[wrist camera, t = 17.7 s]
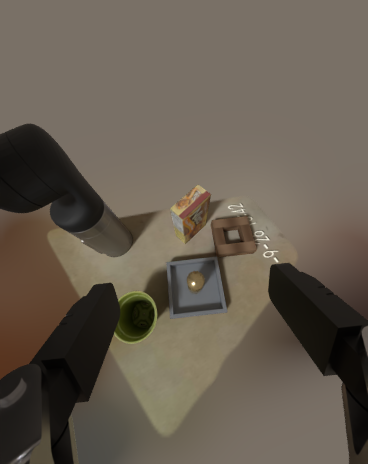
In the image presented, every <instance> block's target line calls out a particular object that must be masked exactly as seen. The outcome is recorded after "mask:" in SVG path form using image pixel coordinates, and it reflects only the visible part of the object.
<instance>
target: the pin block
mask: <svg viewBox="0 0 368 464" xmlns="http://www.w3.org/2000/svg"><path fill="white" fill-rule="evenodd" d="M211 229H212V234H213V239H214V245H215V250H216V255H217V257H226V256H235V255H243V254H252V253H254V252H255V251H256V250H257V248H256V245H255V241H254V238H253V235H252V231H251V228H250V224H249V221H248V218H247V216H245V217H236V218H227V219H219V220H212V222H211ZM231 230H238V232H239V236H240V240H241V243H233V244H226V242H225V237H224V232H223V231H231Z"/></svg>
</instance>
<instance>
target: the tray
mask: <svg viewBox="0 0 368 464" xmlns="http://www.w3.org/2000/svg"><path fill="white" fill-rule="evenodd" d="M193 271H198V272H200V273H202V274H203V276H204V279H205V282H204V285H203V287H202V289H201V291H200V293H198V294H192V293H191V292H190V291H189V289H188V285H187V276H188V274H189V273H191V272H193ZM167 277H168V293H169V308H170V319H173V318H181V317H190V316H199V315H208V314H216V313H225V312H227V308H226V302H225V297H224V292H223V286H222V281H221V276H220V270H219V265H218V260H217V257H209V258H200V259H191V260H182V261H174V262H167Z"/></svg>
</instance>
